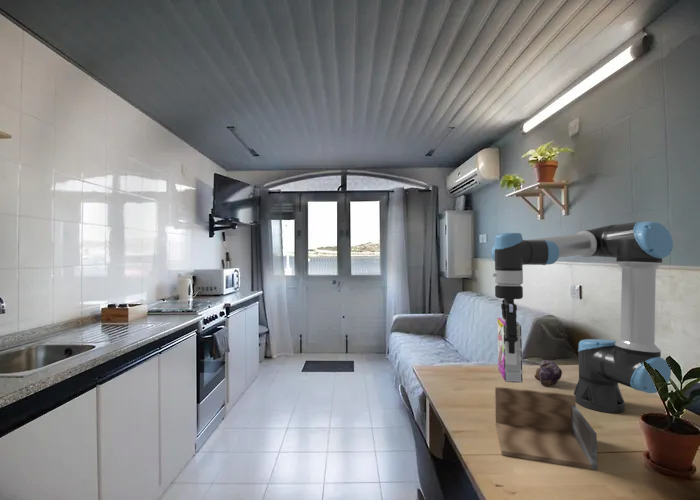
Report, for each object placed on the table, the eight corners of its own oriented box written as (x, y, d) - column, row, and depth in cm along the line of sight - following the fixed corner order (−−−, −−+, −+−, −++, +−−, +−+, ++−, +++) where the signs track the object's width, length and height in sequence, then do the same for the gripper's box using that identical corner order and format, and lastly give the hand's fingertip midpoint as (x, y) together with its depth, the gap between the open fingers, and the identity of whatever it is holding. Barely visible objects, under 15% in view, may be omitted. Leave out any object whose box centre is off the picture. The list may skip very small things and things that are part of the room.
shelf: (574, 435, 104) (574, 394, 105) (597, 470, 87) (596, 421, 87) (495, 424, 111) (495, 386, 111) (501, 455, 94) (501, 410, 94)
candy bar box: (497, 369, 109) (496, 317, 110) (514, 371, 108) (513, 317, 109) (503, 382, 99) (503, 323, 99) (523, 383, 97) (522, 324, 98)
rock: (536, 388, 145) (564, 391, 141) (536, 369, 144) (564, 371, 140) (533, 375, 155) (559, 377, 152) (533, 357, 154) (559, 359, 151)
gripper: (493, 281, 116) (493, 347, 116) (497, 287, 94) (498, 369, 94) (518, 282, 114) (518, 349, 113) (528, 288, 92) (529, 372, 91)
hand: (509, 358), depth 103 cm, fingers closed on candy bar box, 11 cm apart
